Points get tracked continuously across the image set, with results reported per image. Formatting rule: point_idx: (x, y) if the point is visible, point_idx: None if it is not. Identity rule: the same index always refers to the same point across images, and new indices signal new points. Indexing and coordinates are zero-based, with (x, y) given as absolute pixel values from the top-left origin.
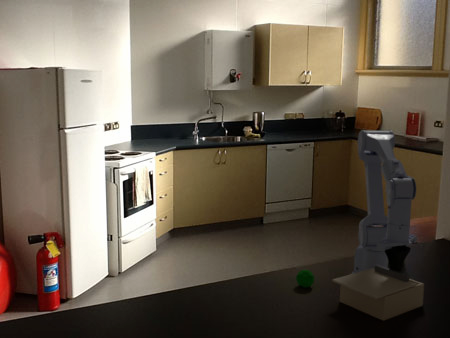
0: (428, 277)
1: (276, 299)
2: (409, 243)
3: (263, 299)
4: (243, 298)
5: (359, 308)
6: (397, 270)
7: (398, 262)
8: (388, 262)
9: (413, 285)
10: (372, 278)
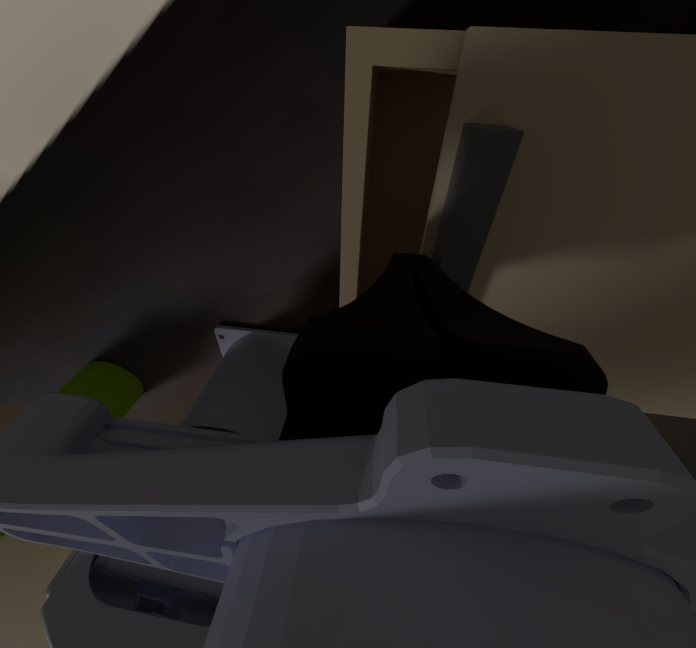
0: (76, 252)
1: (659, 432)
2: (646, 464)
3: (677, 447)
4: (693, 470)
5: None
6: (435, 265)
7: (468, 294)
8: (142, 385)
9: (524, 29)
10: (568, 320)
